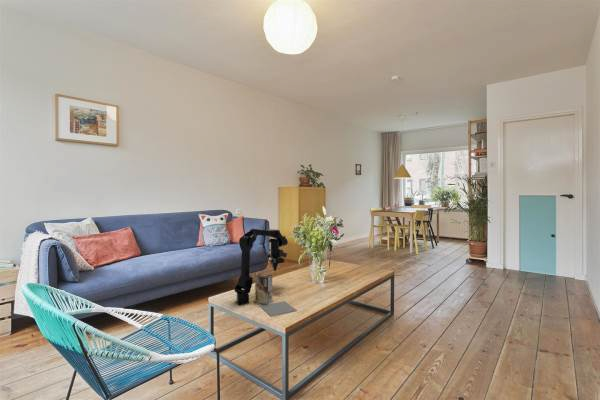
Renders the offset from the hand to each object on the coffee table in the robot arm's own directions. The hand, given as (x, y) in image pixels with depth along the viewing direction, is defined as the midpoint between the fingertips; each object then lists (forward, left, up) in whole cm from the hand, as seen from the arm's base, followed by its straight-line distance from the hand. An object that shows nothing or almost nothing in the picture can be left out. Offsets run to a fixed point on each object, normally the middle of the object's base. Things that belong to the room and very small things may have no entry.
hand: (275, 270), depth 205 cm
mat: (-12, -30, -13) cm, 35 cm away
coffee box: (-15, -16, -13) cm, 26 cm away
